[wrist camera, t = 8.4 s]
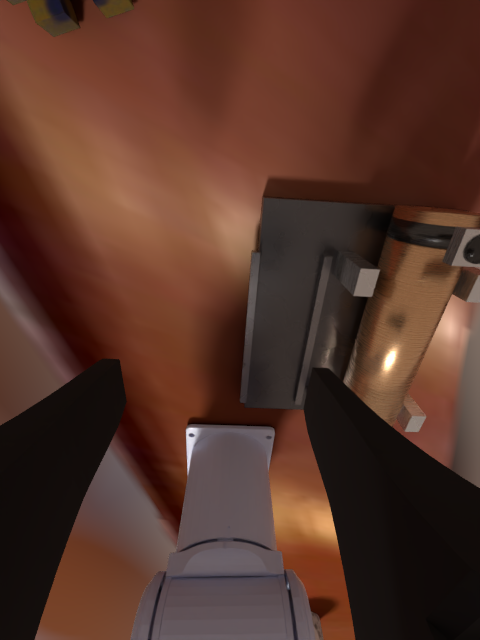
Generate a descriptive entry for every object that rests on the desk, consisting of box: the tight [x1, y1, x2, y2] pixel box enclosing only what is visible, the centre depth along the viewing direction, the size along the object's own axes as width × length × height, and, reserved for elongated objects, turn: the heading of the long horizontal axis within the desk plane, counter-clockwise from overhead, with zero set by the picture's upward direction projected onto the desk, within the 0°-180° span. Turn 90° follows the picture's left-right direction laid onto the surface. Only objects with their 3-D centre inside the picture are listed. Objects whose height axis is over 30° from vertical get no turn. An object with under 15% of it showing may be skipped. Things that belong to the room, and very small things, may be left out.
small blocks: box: [333, 251, 480, 432], centre depth 19 cm, size 12×7×4 cm, turn 177°
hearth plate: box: [240, 196, 469, 410], centre depth 20 cm, size 16×12×2 cm
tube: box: [343, 205, 480, 427], centre depth 18 cm, size 14×4×4 cm, turn 176°
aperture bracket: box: [442, 226, 480, 267], centre depth 14 cm, size 2×4×6 cm, turn 86°
